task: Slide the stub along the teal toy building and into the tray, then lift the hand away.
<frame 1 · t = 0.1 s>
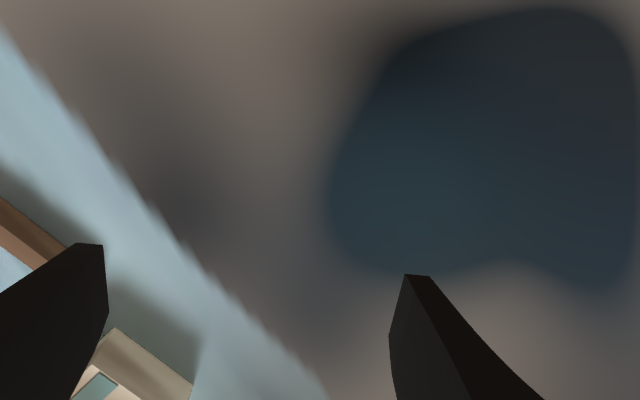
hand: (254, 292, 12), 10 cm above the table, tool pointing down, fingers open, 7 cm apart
stub: (130, 377, 26), on the table
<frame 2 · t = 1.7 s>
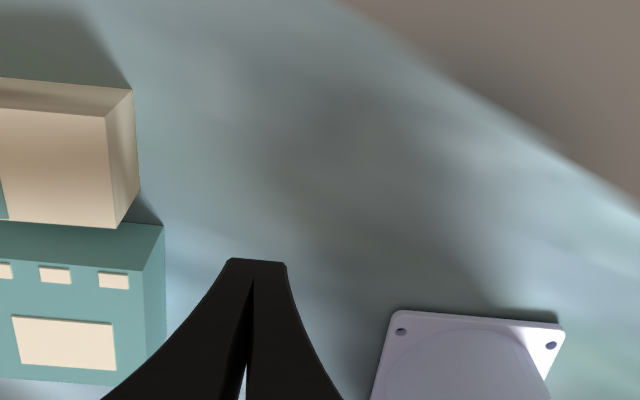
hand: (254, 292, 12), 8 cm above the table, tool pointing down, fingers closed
teal toy building: (93, 278, 22), on the table
stub: (69, 134, 19), on the table
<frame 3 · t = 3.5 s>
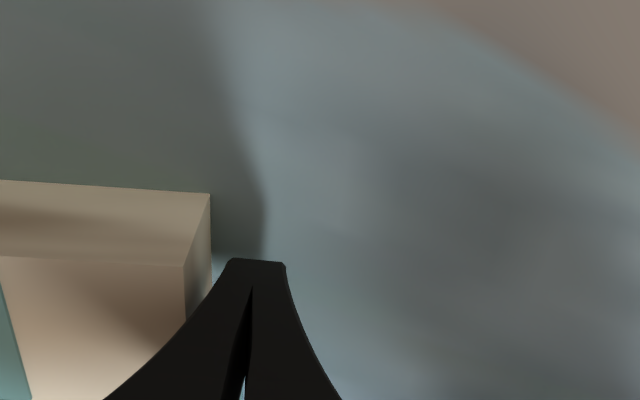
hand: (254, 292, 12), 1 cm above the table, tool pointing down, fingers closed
stub: (114, 253, 13), on the table, touching gripper
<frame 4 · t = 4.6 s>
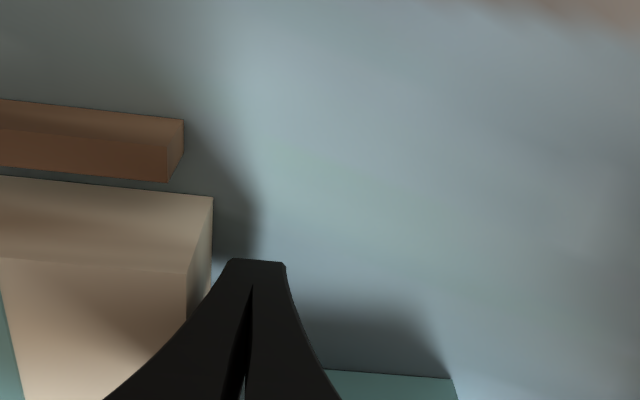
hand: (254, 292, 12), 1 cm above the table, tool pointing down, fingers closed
stub: (112, 255, 13), on the table, touching gripper
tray: (24, 252, 13), on the table
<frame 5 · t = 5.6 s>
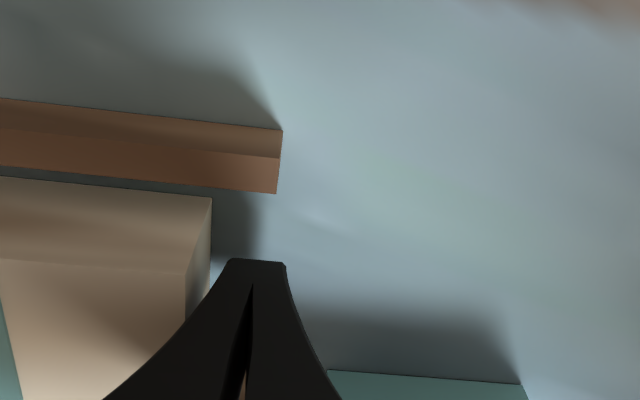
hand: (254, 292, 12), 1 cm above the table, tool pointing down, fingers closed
stub: (110, 255, 13), on the table, touching gripper
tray: (112, 260, 13), on the table
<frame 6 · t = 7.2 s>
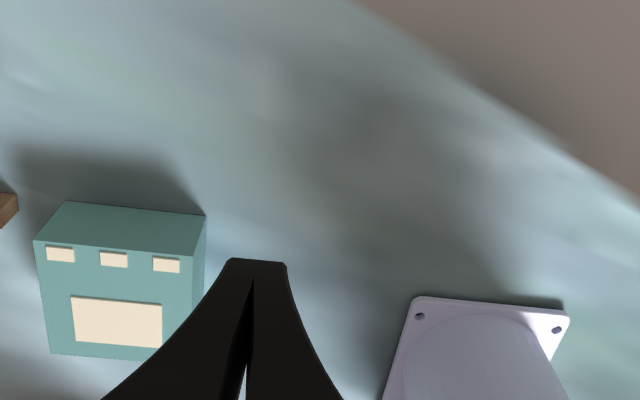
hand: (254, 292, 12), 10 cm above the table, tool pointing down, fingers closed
teal toy building: (138, 263, 24), on the table
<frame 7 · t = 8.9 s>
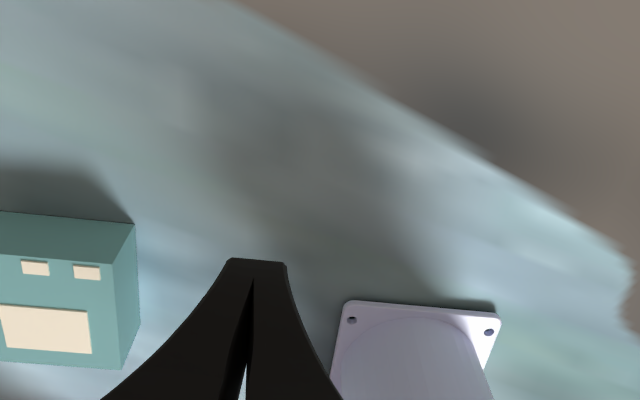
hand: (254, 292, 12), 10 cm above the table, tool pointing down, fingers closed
teal toy building: (73, 271, 24), on the table
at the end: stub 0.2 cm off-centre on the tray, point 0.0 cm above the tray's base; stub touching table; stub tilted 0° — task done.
